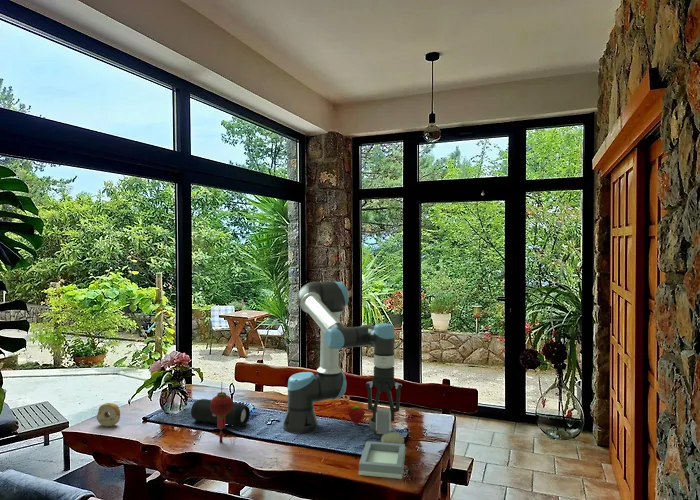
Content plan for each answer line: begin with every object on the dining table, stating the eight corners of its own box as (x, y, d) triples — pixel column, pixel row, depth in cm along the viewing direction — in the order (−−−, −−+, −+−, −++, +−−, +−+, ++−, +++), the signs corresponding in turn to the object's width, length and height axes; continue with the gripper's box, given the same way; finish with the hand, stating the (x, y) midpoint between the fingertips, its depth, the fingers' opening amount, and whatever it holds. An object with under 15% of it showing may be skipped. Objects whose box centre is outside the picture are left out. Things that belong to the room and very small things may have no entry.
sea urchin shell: (377, 436, 193) (390, 422, 194) (390, 449, 194) (404, 435, 194) (380, 445, 184) (394, 430, 185) (394, 459, 185) (408, 444, 185)
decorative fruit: (363, 427, 208) (363, 405, 208) (346, 426, 210) (347, 403, 210) (365, 423, 214) (366, 401, 214) (349, 421, 216) (350, 399, 216)
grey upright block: (376, 433, 169) (377, 414, 169) (378, 426, 175) (379, 408, 176) (387, 434, 168) (388, 415, 168) (389, 427, 175) (389, 409, 175)
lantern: (207, 439, 193) (208, 367, 193) (230, 436, 196) (231, 365, 197) (210, 448, 184) (211, 372, 184) (234, 445, 188) (235, 370, 188)
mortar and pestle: (371, 430, 205) (371, 403, 205) (392, 432, 203) (392, 405, 203) (366, 440, 194) (366, 411, 194) (389, 442, 192) (389, 413, 192)
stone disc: (122, 424, 209) (122, 402, 209) (116, 427, 205) (116, 405, 205) (101, 423, 210) (101, 400, 211) (95, 426, 207) (96, 403, 207)
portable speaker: (189, 424, 211) (189, 401, 211) (202, 416, 220) (202, 395, 220) (239, 430, 203) (239, 407, 203) (250, 423, 213) (251, 401, 213)
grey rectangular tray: (358, 474, 163) (359, 463, 163) (366, 451, 183) (366, 441, 183) (401, 478, 161) (402, 467, 161) (405, 454, 180) (405, 444, 180)
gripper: (359, 367, 170) (359, 431, 170) (406, 369, 167) (406, 435, 167) (362, 362, 177) (362, 424, 177) (407, 364, 175) (407, 427, 174)
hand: (383, 429), depth 172 cm, fingers closed on grey upright block, 4 cm apart
